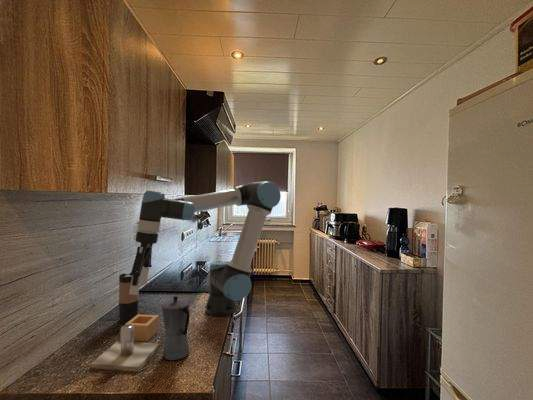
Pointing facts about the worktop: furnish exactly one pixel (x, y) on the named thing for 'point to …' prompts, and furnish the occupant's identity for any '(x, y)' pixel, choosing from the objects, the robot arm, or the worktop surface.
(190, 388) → the worktop surface
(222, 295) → the robot arm
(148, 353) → the post stand
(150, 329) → the open wooden box
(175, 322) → the moka pot
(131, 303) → the travel mug
